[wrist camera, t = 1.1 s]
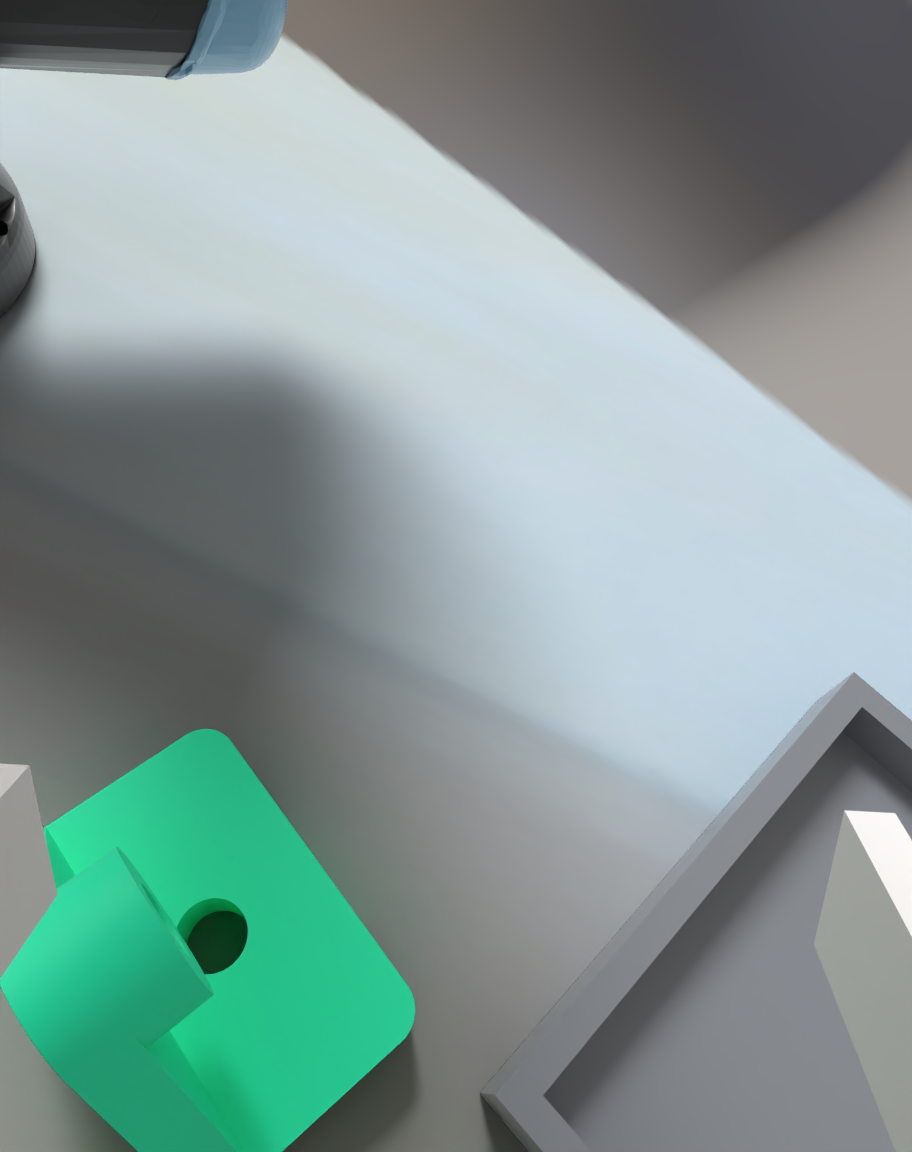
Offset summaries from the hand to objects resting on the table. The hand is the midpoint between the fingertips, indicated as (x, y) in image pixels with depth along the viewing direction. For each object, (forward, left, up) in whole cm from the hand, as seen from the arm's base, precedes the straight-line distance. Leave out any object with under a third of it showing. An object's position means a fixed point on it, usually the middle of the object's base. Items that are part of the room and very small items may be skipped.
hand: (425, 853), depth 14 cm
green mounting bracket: (-4, -3, -18) cm, 18 cm away
